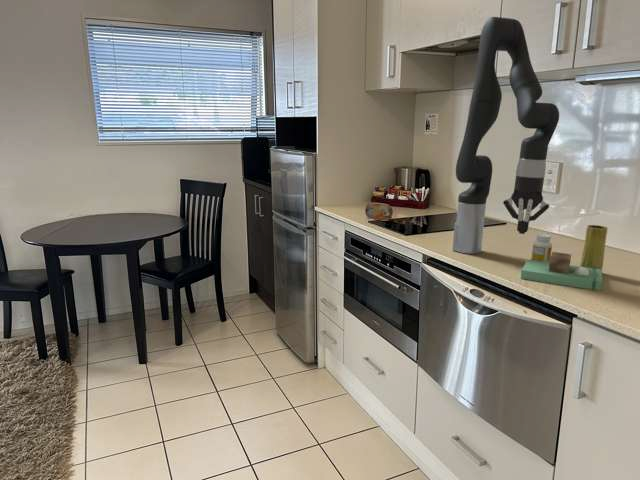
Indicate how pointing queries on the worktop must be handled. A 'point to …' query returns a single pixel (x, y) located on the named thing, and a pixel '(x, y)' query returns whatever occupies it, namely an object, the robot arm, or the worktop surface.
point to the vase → (594, 247)
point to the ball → (581, 271)
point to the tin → (379, 211)
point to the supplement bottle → (542, 248)
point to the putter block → (560, 262)
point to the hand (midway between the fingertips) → (521, 233)
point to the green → (561, 275)
